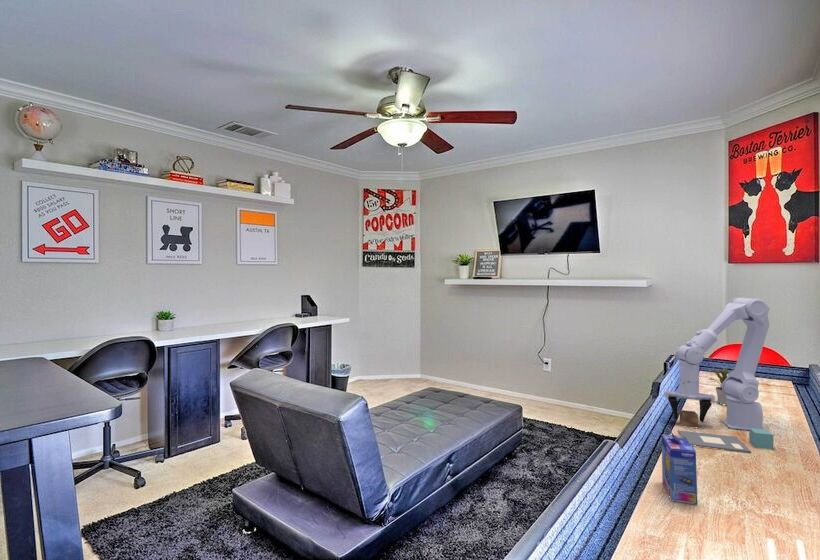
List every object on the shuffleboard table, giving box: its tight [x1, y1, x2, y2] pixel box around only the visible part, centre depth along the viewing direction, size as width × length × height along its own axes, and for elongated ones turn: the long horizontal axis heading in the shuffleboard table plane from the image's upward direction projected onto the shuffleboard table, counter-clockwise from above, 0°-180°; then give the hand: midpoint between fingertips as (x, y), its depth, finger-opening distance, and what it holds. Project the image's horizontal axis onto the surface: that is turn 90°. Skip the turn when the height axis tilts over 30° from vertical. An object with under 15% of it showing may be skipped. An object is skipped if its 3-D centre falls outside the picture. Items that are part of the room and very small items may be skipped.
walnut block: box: [679, 409, 699, 429], centre depth 148 cm, size 4×4×4 cm
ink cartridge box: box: [660, 428, 699, 505], centre depth 102 cm, size 10×6×14 cm, turn 161°
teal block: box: [748, 428, 775, 451], centre depth 130 cm, size 4×4×4 cm
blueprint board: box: [677, 429, 752, 454], centre depth 133 cm, size 16×12×1 cm
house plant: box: [703, 364, 735, 405], centre depth 172 cm, size 14×14×16 cm
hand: (688, 420), depth 148 cm, fingers open, 7 cm apart
